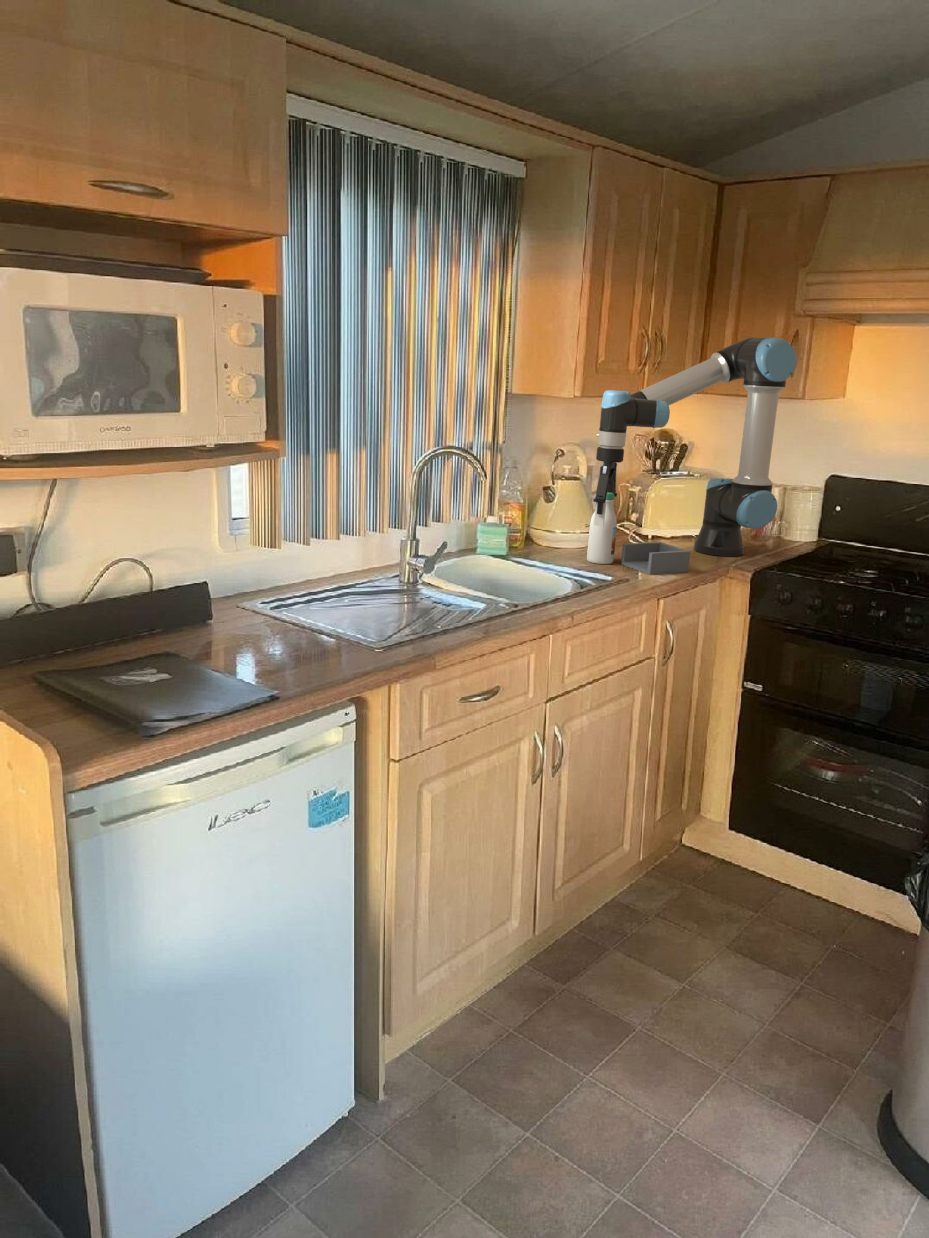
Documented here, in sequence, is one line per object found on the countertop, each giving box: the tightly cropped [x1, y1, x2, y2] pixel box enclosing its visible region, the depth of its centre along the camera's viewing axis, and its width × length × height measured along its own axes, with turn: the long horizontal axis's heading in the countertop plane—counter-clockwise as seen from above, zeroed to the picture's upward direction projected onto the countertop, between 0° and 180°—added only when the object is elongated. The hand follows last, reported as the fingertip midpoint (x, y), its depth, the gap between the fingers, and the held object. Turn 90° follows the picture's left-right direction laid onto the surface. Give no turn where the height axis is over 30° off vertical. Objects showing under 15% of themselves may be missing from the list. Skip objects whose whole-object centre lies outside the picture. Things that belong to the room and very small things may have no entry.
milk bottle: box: [586, 492, 618, 565], centre depth 276 cm, size 8×8×20 cm
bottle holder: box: [620, 541, 691, 575], centre depth 273 cm, size 13×13×6 cm
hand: (602, 522), depth 275 cm, fingers open, 13 cm apart
